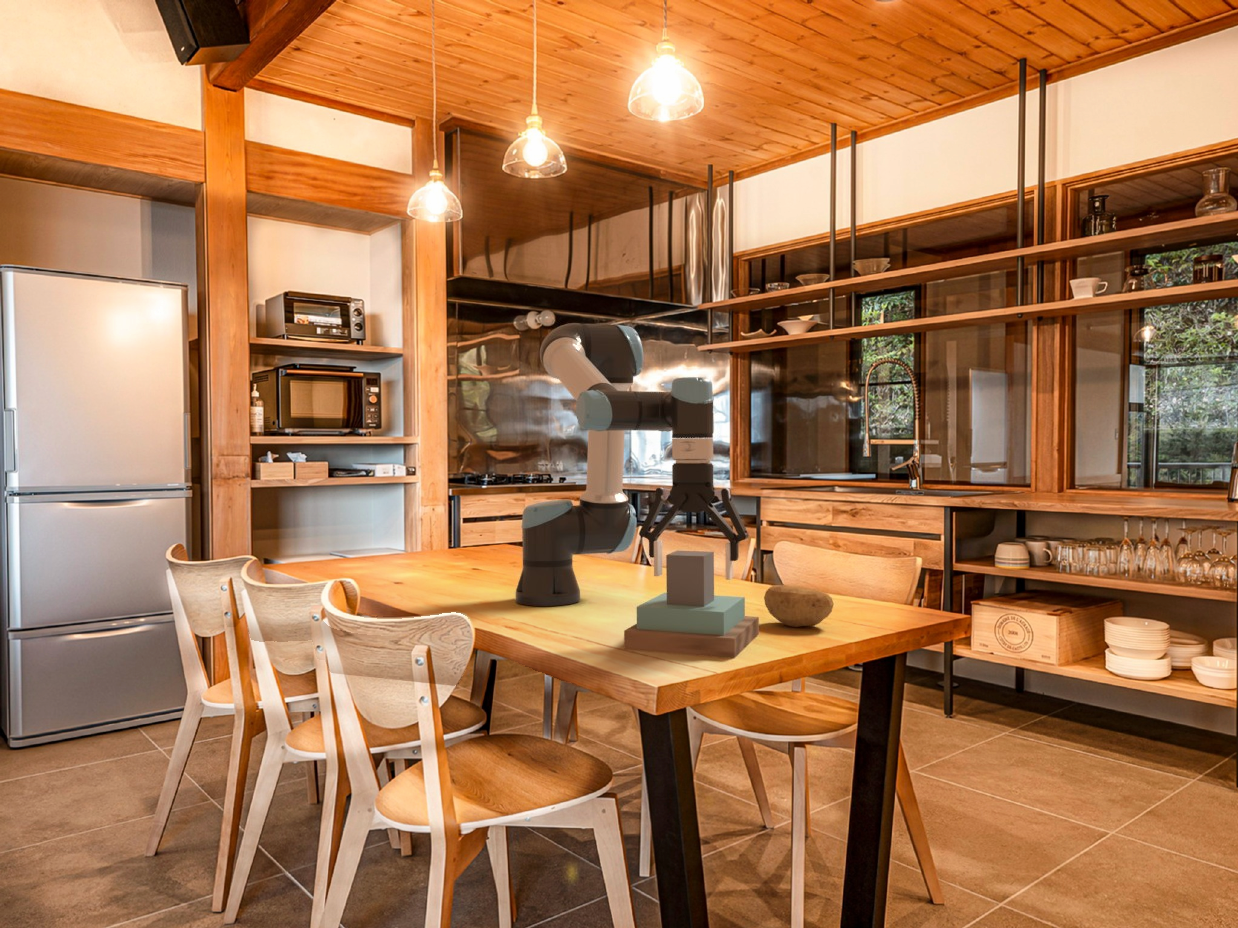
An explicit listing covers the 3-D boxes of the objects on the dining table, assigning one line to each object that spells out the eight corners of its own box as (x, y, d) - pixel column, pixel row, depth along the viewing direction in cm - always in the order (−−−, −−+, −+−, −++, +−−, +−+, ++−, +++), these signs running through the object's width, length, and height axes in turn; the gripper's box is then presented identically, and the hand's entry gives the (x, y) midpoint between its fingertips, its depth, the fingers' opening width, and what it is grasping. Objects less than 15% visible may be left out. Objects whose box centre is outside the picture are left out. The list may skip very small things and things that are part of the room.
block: (678, 597, 165) (677, 550, 165) (714, 599, 163) (713, 551, 163) (666, 604, 159) (666, 554, 159) (704, 606, 156) (703, 556, 156)
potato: (821, 634, 166) (821, 592, 166) (755, 626, 175) (755, 586, 175) (842, 626, 174) (842, 586, 174) (778, 618, 182) (778, 580, 182)
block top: (664, 612, 172) (664, 592, 172) (744, 618, 166) (744, 597, 166) (636, 628, 157) (636, 606, 157) (723, 635, 151) (723, 612, 151)
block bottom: (659, 630, 174) (659, 610, 174) (758, 637, 167) (758, 616, 167) (624, 652, 156) (624, 630, 155) (734, 661, 148) (734, 638, 148)
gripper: (621, 462, 162) (622, 576, 162) (755, 462, 153) (756, 583, 153) (635, 461, 169) (636, 571, 169) (764, 461, 160) (764, 577, 160)
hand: (693, 577), depth 161 cm, fingers open, 13 cm apart
